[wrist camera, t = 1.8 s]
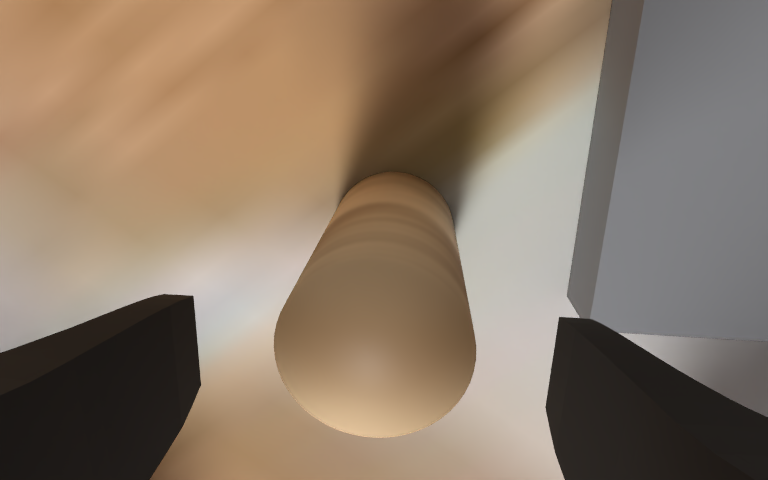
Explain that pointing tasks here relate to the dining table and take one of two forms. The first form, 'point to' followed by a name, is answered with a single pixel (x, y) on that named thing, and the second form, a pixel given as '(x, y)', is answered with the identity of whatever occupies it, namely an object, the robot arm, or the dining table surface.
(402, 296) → the peg
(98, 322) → the robot arm
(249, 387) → the dining table surface
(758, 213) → the docking block
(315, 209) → the dining table surface
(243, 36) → the dining table surface
